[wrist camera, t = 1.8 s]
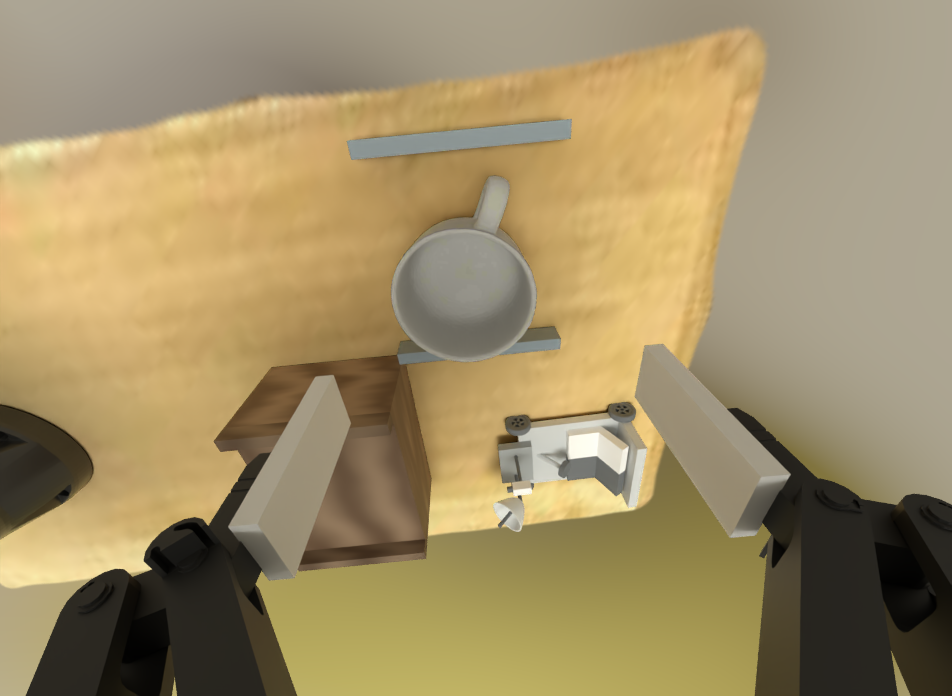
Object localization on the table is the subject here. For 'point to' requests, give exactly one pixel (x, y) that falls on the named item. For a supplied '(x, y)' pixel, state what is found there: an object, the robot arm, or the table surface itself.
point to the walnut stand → (351, 460)
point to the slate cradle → (454, 141)
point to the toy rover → (571, 456)
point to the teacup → (466, 284)
